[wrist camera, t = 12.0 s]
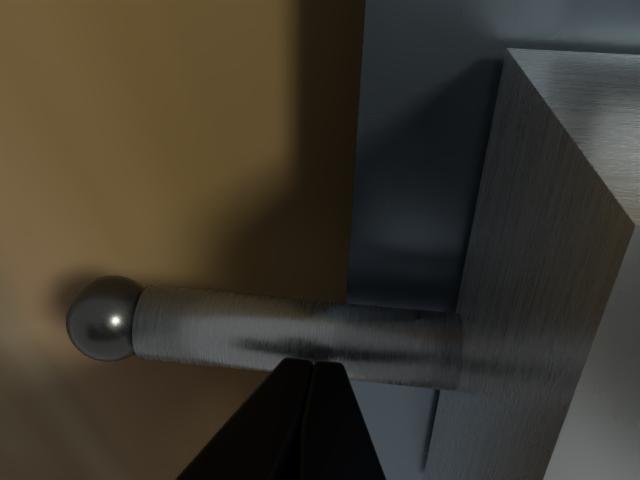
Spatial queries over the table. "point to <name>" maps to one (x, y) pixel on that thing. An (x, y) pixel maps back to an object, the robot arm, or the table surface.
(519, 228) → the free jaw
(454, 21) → the vise
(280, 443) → the robot arm
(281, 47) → the table surface
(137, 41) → the table surface
